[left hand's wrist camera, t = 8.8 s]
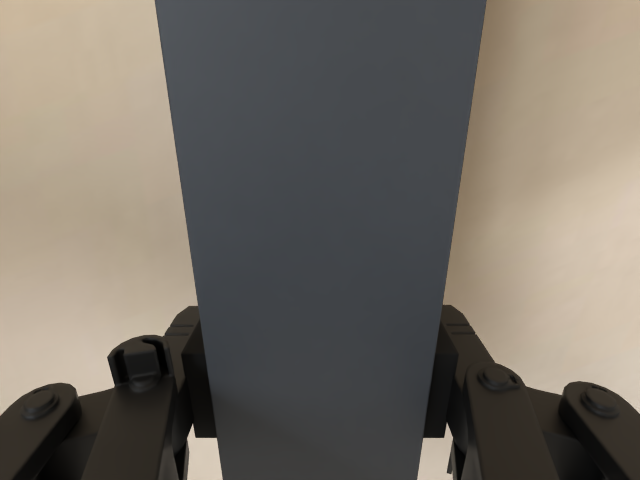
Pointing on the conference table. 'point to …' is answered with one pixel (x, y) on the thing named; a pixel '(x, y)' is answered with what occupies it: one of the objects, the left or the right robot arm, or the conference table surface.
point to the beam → (320, 219)
